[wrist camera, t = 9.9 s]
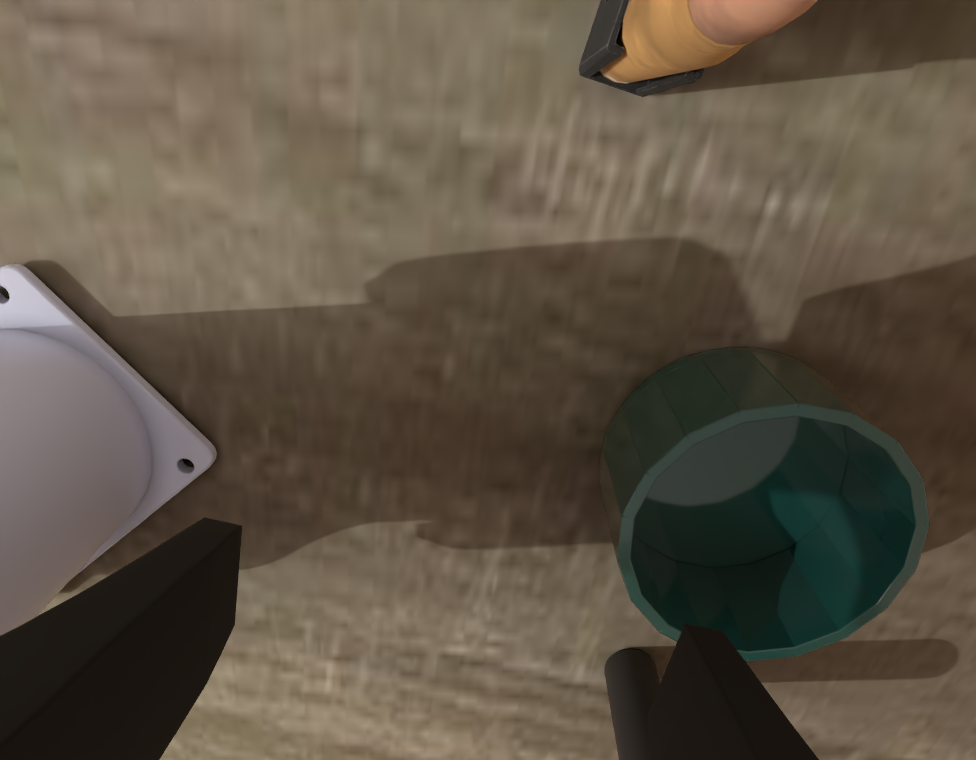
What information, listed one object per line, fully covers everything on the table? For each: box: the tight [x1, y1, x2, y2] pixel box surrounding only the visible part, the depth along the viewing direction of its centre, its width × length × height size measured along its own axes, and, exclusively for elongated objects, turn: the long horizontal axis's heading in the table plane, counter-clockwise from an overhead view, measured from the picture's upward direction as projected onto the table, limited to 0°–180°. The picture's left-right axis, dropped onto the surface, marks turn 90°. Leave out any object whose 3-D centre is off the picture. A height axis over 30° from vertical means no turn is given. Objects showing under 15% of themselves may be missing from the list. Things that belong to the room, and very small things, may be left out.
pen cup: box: [600, 347, 930, 661], centre depth 20 cm, size 8×8×4 cm
